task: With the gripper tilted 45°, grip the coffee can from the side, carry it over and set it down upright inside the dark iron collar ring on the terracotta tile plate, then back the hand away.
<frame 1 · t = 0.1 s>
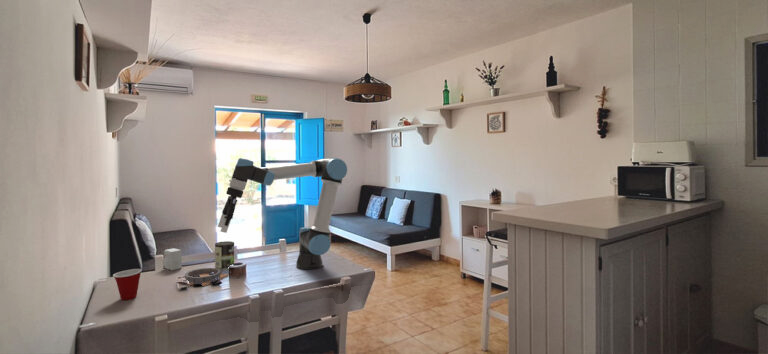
hand: (221, 229, 188), 28 cm above the table, tool tilted 20°, fingers open, 13 cm apart
coffee can: (224, 267, 219), on the table
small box: (173, 268, 216), on the table
plastic cup: (128, 298, 171), on the table
collar plate: (203, 279, 198), on the table
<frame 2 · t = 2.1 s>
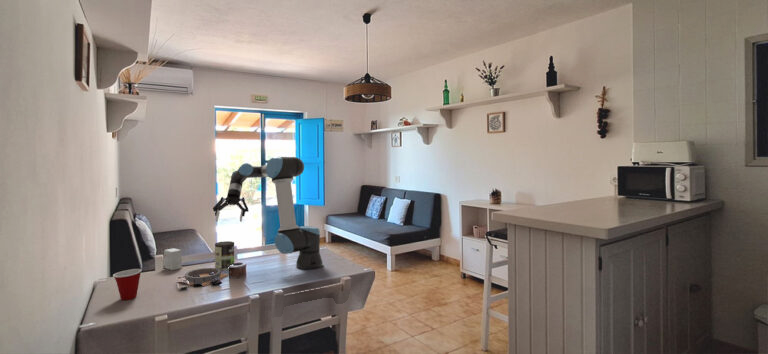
hand: (228, 220, 226), 26 cm above the table, tool tilted 45°, fingers open, 13 cm apart
nothing on the table moved.
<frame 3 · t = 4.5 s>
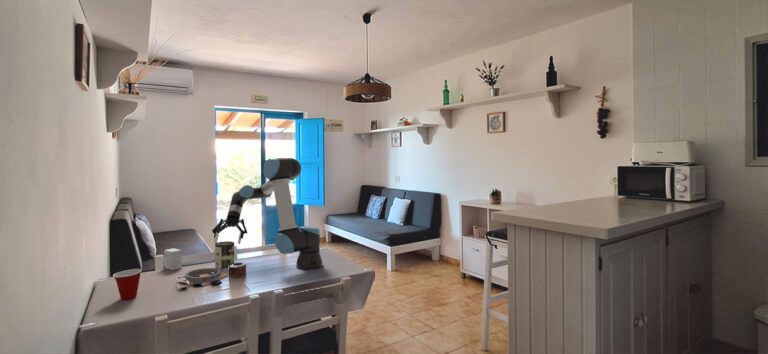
hand: (227, 242, 225), 13 cm above the table, tool tilted 45°, fingers open, 13 cm apart
nothing on the table moved.
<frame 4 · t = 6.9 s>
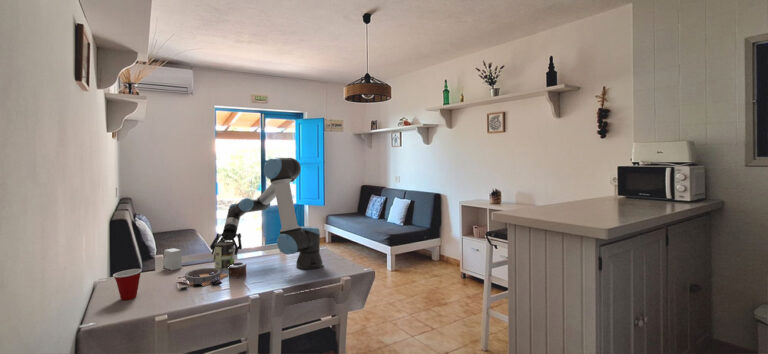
hand: (223, 259, 216), 5 cm above the table, tool tilted 45°, fingers closed on coffee can, 10 cm apart
coffee can: (224, 267, 219), on the table, touching gripper
everything else where it was.
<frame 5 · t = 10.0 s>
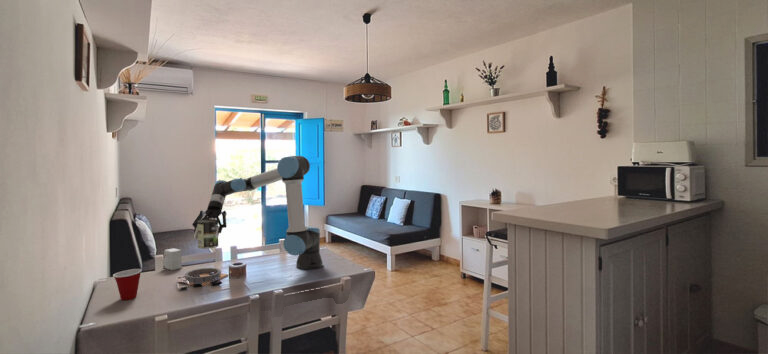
hand: (205, 237, 202), 21 cm above the table, tool tilted 45°, fingers closed on coffee can, 10 cm apart
coffee can: (208, 246, 205), point 15 cm above the table, touching gripper
everything else where it was.
when the fingers open (8 cm above the table, at t = 12.9 s): coffee can drops 1 cm, resting on collar plate.
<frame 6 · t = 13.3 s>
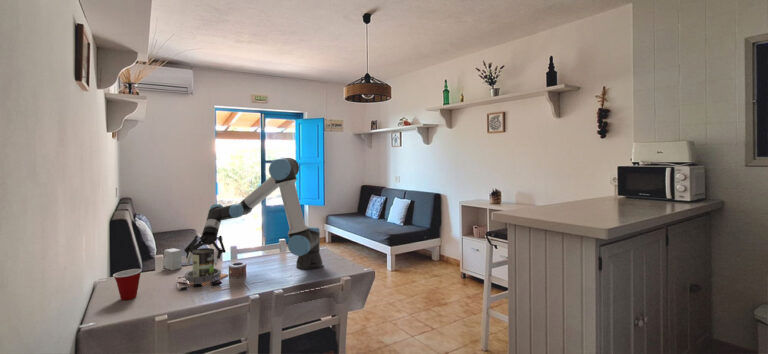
hand: (201, 264, 195), 9 cm above the table, tool tilted 45°, fingers open, 13 cm apart
coffee can: (203, 277, 198), point 1 cm above the table, touching collar plate
everything else where it was.
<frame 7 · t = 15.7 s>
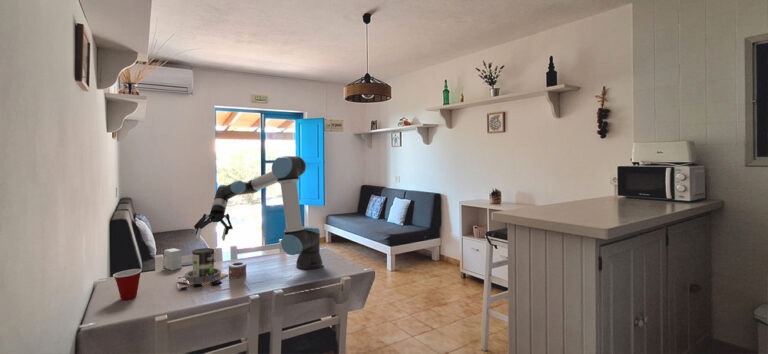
hand: (210, 239, 207), 19 cm above the table, tool tilted 45°, fingers open, 13 cm apart
nothing on the table moved.
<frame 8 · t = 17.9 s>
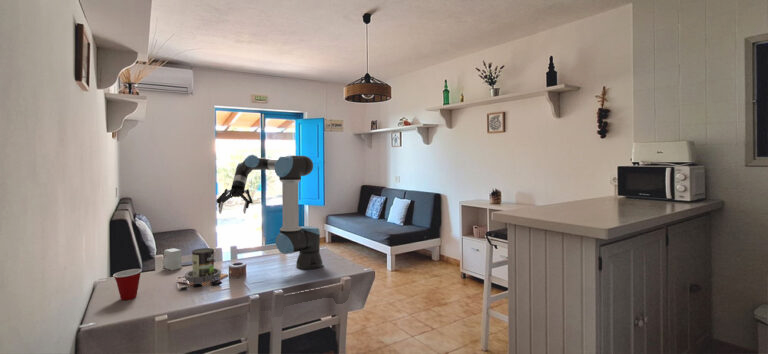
hand: (232, 212, 219), 32 cm above the table, tool tilted 45°, fingers open, 13 cm apart
nothing on the table moved.
at the end: coffee can 0.2 cm off-centre on the collar plate, point 0.8 cm above the collar plate's base; coffee can tilted 0°; the gripper is holding nothing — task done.
